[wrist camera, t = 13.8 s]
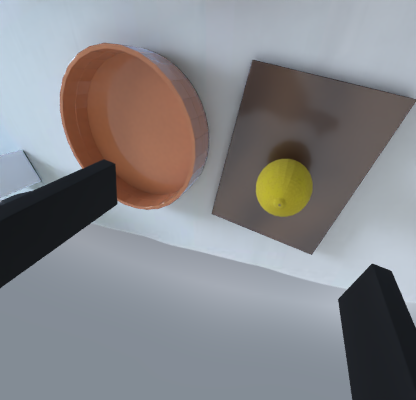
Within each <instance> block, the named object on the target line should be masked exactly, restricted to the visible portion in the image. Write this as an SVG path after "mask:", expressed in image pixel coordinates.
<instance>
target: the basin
mask: <svg viewBox="0 0 416 400" xmlns="http://www.w3.org/2000/svg"><path fill="white" fill-rule="evenodd" d="M60 113H61V119H62V125H63V128H64V131H65V134H66V138H67V141H68V143H69V145H70V147H71V150H72V152H73V154H74V156H75V157H76V159H77V161H78V162H79V164H80V166H81V167H82V169H83V168H85V167H87V166H90V165H92V164H94V163H96V162H99V161H101V160H103V159H105V160H107V161H110V162H112V163H115V164H116V185H117V201H119V202H121V203H123V204H125V205H128V206H131V207H134V208H138V209H146V210H149V209H159V208H162V207H164V206H167V205H169V204H171V203H172V202H174V201H175V200H176V199H178V198H179V197H180V196H181V195H182V194H183V193H184V192H185V191H186V190H187V189H188V188H190V187H191V186H192V184H193V183H194V182H195V181H196V180H197V178H198V177H199V176H200V174H201V172H202V170H203V168H204V165H205V162H206V159H207V155H208V148H209V132H208V124H207V119H206V115H205V112H204V109H203V106H202V103H201V101H200V99H199V97H198V95H197V92H196V91H195V89H194V88H193V86H192V84H191V83H190V81H189V80H188V79H187V78H186V76H185V75H184V74H183V73H182V72H181V71H180V70H179V69H178V68H177V67H176V66H175V65H174V64H173V63H172V62H170V61H169V60H168V59H166V58H165V57H163V56H161V55H160V54H157V53H156V52H153V51H150V50H147V49H145V48H139V47H133V46H126V45H119V44H110V43H102V44H97V45H93V46H89V47H88V48H86V49H84V50H83V51H81V52H80V53H78V54H77V55H76V56H75V58H74V59H73V60H72V61H71V63H70V64H69V65H68V67H67V70H66V72H65V74H64V77H63V79H62V85H61V90H60Z"/></svg>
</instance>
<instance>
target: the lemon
mask: <svg viewBox="0 0 416 400" xmlns="http://www.w3.org/2000/svg"><path fill="white" fill-rule="evenodd" d="M312 191H313V182H312V178H311V175H310V173H309V171H308V170H307V168H306V167H305V166H304V165H302V164H301V163H300V162H298V161H296V160H292V159H279V160H275V161H273V162H271V163H269V164H268V165H267V166H266V167H265V168H264V169H263V170H262V171H261V173H260V174H259V177H258V180H257V183H256V195H257V199H258V201H259V203H260V205H261V207H262V208H263V209H264V210H265V211H267V212H268V213H270V214H272V215H275V216H279V217H287V216H292V215H294V214H296V213H298V212H300V211H301V210H302V209H303V208H304V207H305V206H306V204H307V203H308V202H309V200H310V197H311V194H312Z"/></svg>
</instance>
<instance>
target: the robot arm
mask: <svg viewBox="0 0 416 400" xmlns="http://www.w3.org/2000/svg"><path fill="white" fill-rule="evenodd" d="M115 205H117V185H116V164H115V163H112V162H110V161H107V160H105V159H103V160H101V161H99V162H96V163H94V164H92V165H90V166H87V167H85V168H83V169H81V170H78V171H76V172H74V173H72V174H69V175H67V176H65V177H63V178H61V179H58V180H56V181H54V182H52V183H49V184H47V185H45V186H43V187H40V188H38V189H36V190H34V191H29V192H25V193H21V194H17V195H14V196H11V197H9V198H7V199H4V200H2V201H1V202H0V288H1V287H2V286H4V285H5V284H6V283H8V282H9V281H11V280H12V279H13V278H15V277H16V276H18V275H19V274H20V273H22V272H23V271H25V270H26V269H28V268H29V267H30V266H32V265H33V264H35V263H36V262H37V261H39V260H40V259H42V258H43V257H44V256H46V255H47V254H49V253H50V252H51V251H53V250H54V249H55V248H57V247H58V246H60V245H61V244H62V243H64V242H65V241H66V240H68V239H69V238H71V237H72V236H73V235H75V234H76V233H78V232H79V231H80V230H81V229H83V228H85V227H86V226H87V225H89V224H90V223H92V222H93V221H95V220H96V219H97V218H99V217H100V216H102V215H103V214H104V213H106V212H107V211H108V210H110V209H111V208H113V207H114V206H115ZM338 302H339V308H340V315H341V323H342V330H343V337H344V344H345V350H346V358H347V365H348V372H349V379H350V386H351V394H352V400H416V328H415V325H414V323H413V321H412V318H411V316H410V313H409V311H408V309H407V306H406V304H405V302H404V299H403V297H402V295H401V292H400V290H399V288H398V285H397V283H396V281H395V278H394V276H393V273H392V271H390V270H388V269H385V268H382V267H380V266H377V265H375V264H371V265H370V266H369V267H368V268H367V269H366V270H365V272H364V273H363V274H362V275H361V276H360V277H359V278H358V279H357V280H356V281H355V282H354V283H353V284H352V285H351V286H350V287H349V288H348V289H347V290H346V291H345V292H344V294H343V295H342V296H341V297H340V298H339V299H338Z"/></svg>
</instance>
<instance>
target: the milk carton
mask: <svg viewBox="0 0 416 400" xmlns="http://www.w3.org/2000/svg"><path fill="white" fill-rule="evenodd" d="M40 181H41V180H40V178H39V177H38V175H37V173H36V172H35V170H34V169H33V167H32V165H31V164H30V162H29V160H28V159H27V157H26V156H25V154H24V152H23V151H22V150H19V151H15V152H12V153H8V154H4V155H0V198H1V197H3V196H6V195H8V194H11V193H13V192H16V191H18V190H21V189H23V188H26V187H28V186H31V185H33V184H36V183H38V182H40Z"/></svg>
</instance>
